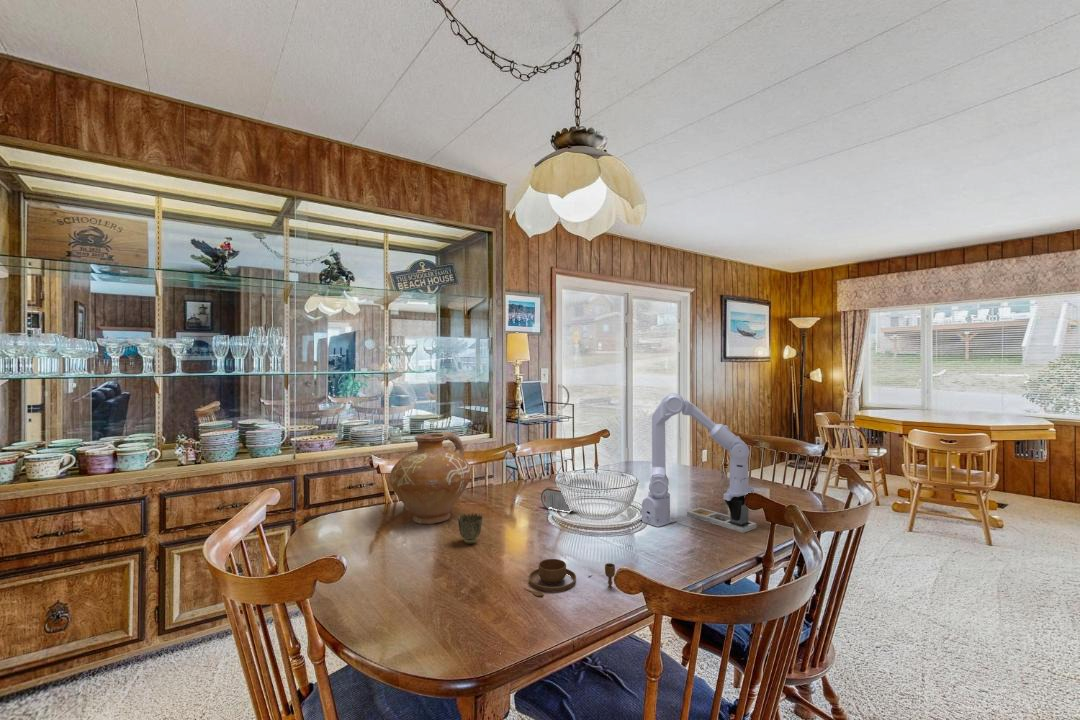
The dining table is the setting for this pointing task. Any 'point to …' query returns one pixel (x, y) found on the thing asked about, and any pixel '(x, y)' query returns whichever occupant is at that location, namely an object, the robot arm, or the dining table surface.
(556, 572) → the place setting
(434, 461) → the jug
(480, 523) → the cup
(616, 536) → the dining table surface
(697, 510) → the grey compartment tray
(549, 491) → the tin
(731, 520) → the block
